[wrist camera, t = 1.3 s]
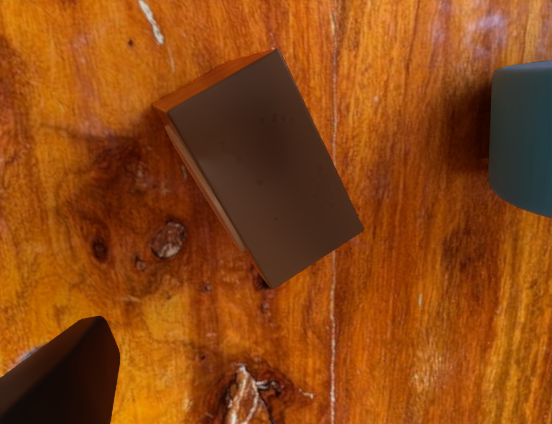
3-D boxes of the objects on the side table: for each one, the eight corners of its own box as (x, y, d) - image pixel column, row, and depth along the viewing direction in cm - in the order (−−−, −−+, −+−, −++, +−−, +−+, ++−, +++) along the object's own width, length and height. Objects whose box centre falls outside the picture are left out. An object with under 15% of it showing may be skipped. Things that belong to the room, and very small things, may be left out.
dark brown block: (226, 235, 23) (269, 293, 16) (148, 105, 20) (160, 114, 14) (298, 190, 23) (365, 230, 17) (230, 59, 21) (279, 47, 14)
